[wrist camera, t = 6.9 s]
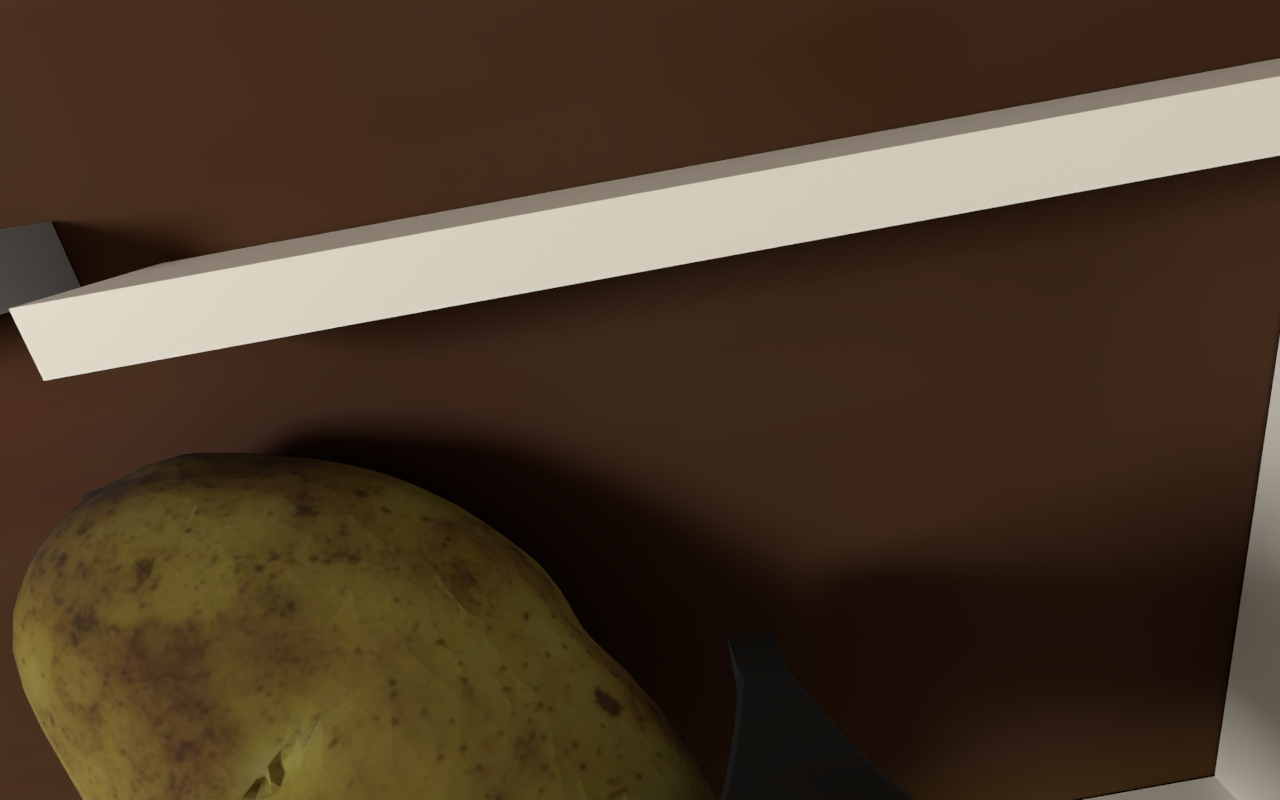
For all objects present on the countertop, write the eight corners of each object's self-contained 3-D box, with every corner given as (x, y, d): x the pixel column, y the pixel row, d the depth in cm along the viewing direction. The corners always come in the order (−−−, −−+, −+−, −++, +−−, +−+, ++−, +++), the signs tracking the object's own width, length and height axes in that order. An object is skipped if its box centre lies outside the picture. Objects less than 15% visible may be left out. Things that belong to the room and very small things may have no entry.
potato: (447, 270, 13) (214, 501, 5) (760, 741, 17) (875, 1228, 10) (86, 481, 14) (-513, 909, 6) (466, 868, 18) (367, 1385, 11)
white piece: (1248, 797, 19) (1385, 938, 16) (436, 941, 19) (403, 1112, 16) (1380, 39, 12) (1658, 7, 9) (161, 263, 13) (8, 308, 9)
